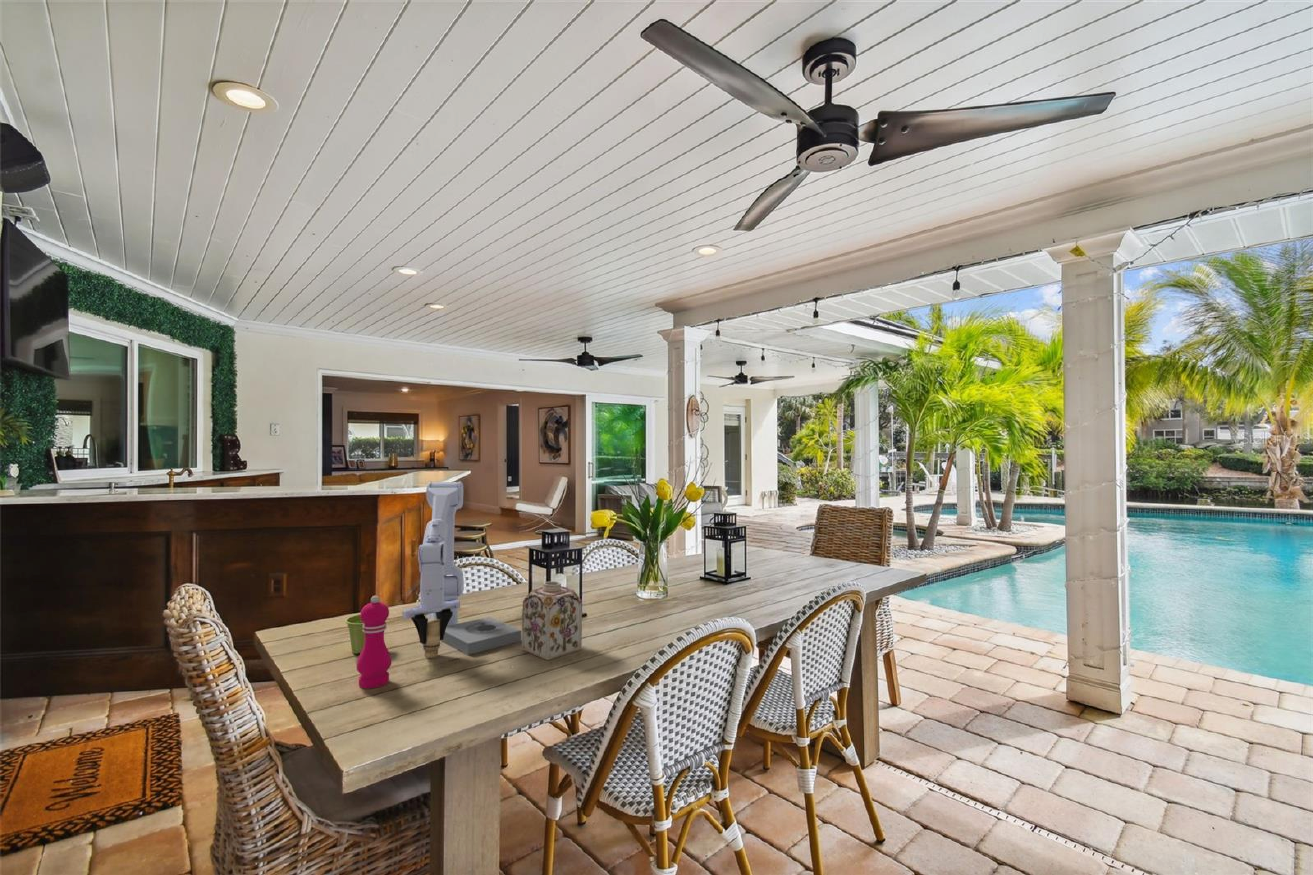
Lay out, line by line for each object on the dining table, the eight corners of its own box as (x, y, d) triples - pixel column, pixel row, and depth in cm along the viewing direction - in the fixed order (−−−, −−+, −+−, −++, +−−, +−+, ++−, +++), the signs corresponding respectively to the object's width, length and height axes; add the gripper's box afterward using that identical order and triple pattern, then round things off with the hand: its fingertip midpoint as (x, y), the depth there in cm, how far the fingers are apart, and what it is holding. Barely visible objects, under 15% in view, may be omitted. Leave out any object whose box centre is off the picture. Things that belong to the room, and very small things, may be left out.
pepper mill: (356, 692, 130) (357, 601, 131) (356, 680, 137) (357, 593, 137) (392, 686, 134) (393, 597, 134) (390, 674, 140) (391, 590, 140)
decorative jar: (520, 650, 157) (521, 582, 158) (555, 640, 166) (556, 576, 166) (547, 661, 149) (548, 590, 150) (583, 650, 158) (583, 582, 158)
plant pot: (390, 650, 157) (390, 617, 157) (352, 659, 150) (353, 625, 150) (376, 642, 163) (376, 610, 163) (339, 650, 156) (340, 618, 156)
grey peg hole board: (437, 638, 166) (437, 628, 166) (489, 626, 178) (489, 616, 178) (467, 655, 154) (467, 643, 154) (521, 641, 165) (521, 630, 165)
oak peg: (420, 655, 153) (420, 621, 153) (435, 652, 156) (436, 617, 156) (427, 660, 150) (427, 624, 150) (442, 656, 153) (443, 621, 153)
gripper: (410, 596, 145) (409, 651, 145) (465, 586, 155) (465, 638, 155) (399, 591, 150) (398, 644, 150) (453, 582, 160) (452, 632, 160)
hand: (431, 641), depth 153 cm, fingers closed on oak peg, 4 cm apart
